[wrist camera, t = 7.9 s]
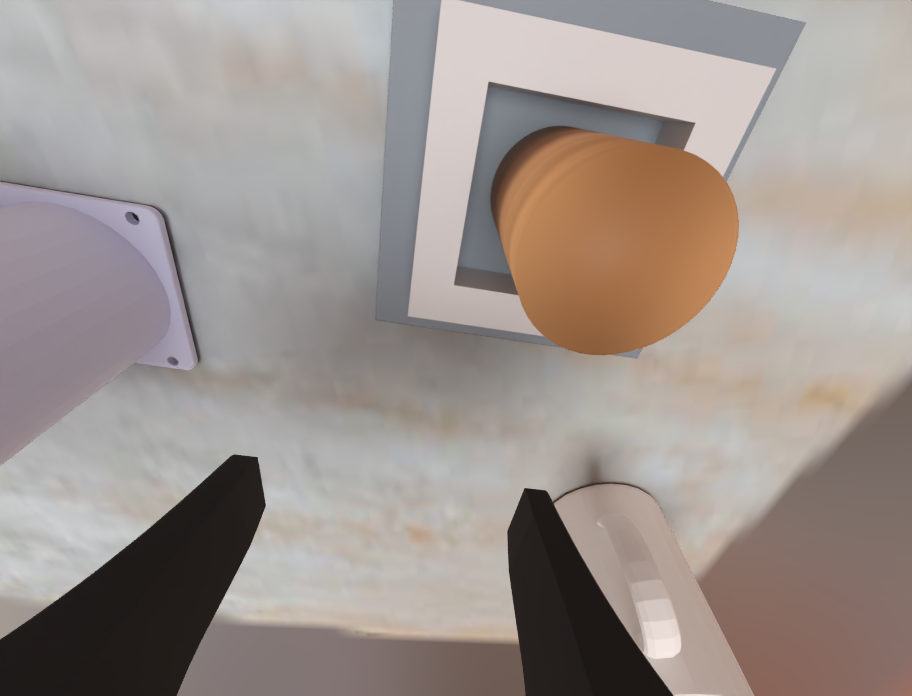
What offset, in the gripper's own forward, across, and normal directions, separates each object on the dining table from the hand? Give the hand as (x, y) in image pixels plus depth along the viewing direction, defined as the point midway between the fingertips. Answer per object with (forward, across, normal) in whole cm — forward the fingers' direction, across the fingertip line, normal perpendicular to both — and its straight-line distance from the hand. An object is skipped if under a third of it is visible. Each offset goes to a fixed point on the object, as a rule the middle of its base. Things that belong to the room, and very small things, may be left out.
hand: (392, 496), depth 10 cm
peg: (+8, -4, -7) cm, 11 cm away
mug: (+10, -13, +11) cm, 20 cm away
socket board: (+9, -4, -7) cm, 12 cm away
